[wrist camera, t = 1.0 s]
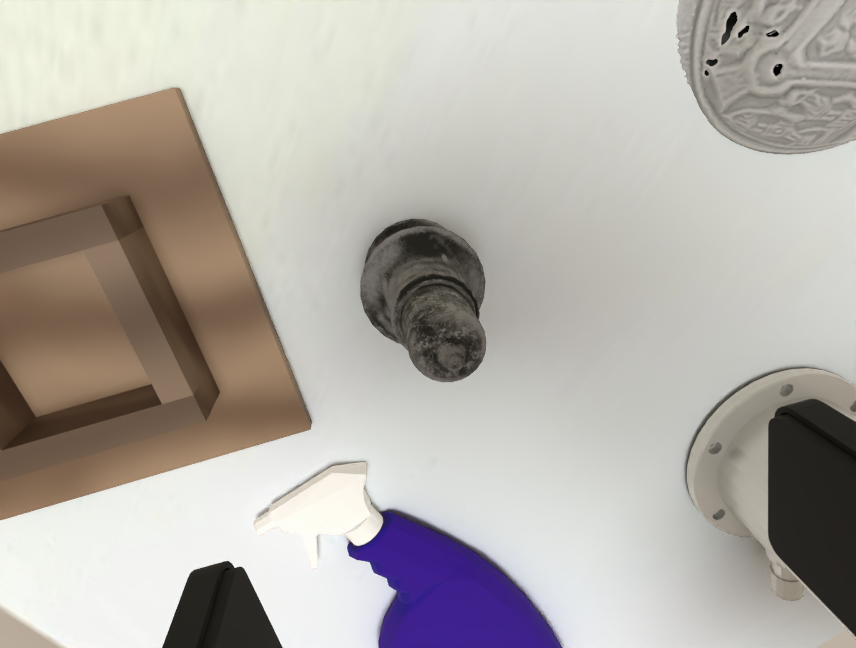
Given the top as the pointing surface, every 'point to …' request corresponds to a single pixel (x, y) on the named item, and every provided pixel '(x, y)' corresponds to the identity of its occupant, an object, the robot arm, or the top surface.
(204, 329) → the walnut holder
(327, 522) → the spray bottle
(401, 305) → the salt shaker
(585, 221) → the top surface
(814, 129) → the carved oval dish
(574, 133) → the top surface
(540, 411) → the top surface
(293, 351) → the top surface
